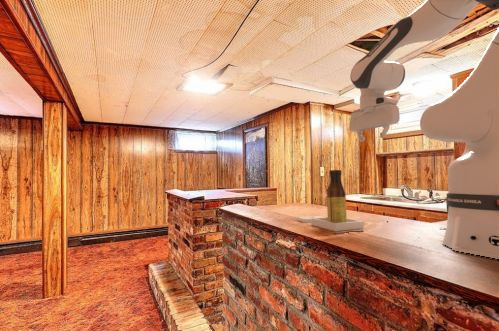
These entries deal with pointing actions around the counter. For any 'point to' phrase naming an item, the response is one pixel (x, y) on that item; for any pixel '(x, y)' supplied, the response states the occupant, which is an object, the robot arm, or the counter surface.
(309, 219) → the tile
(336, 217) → the sauce bottle
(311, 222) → the slate board
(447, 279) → the counter surface
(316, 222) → the bin
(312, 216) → the tile
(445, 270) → the counter surface
